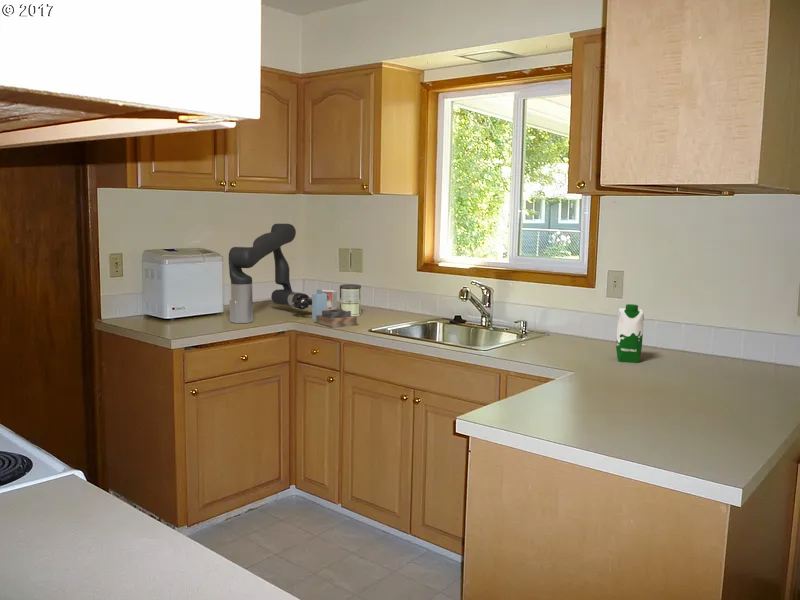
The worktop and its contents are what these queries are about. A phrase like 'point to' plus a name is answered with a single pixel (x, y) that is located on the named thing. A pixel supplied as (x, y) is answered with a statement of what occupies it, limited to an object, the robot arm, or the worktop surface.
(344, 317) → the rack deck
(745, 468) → the worktop surface
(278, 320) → the worktop surface
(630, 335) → the milk carton
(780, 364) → the worktop surface
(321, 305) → the blue rectangular bottle
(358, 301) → the coffee can
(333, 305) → the small box
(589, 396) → the worktop surface
